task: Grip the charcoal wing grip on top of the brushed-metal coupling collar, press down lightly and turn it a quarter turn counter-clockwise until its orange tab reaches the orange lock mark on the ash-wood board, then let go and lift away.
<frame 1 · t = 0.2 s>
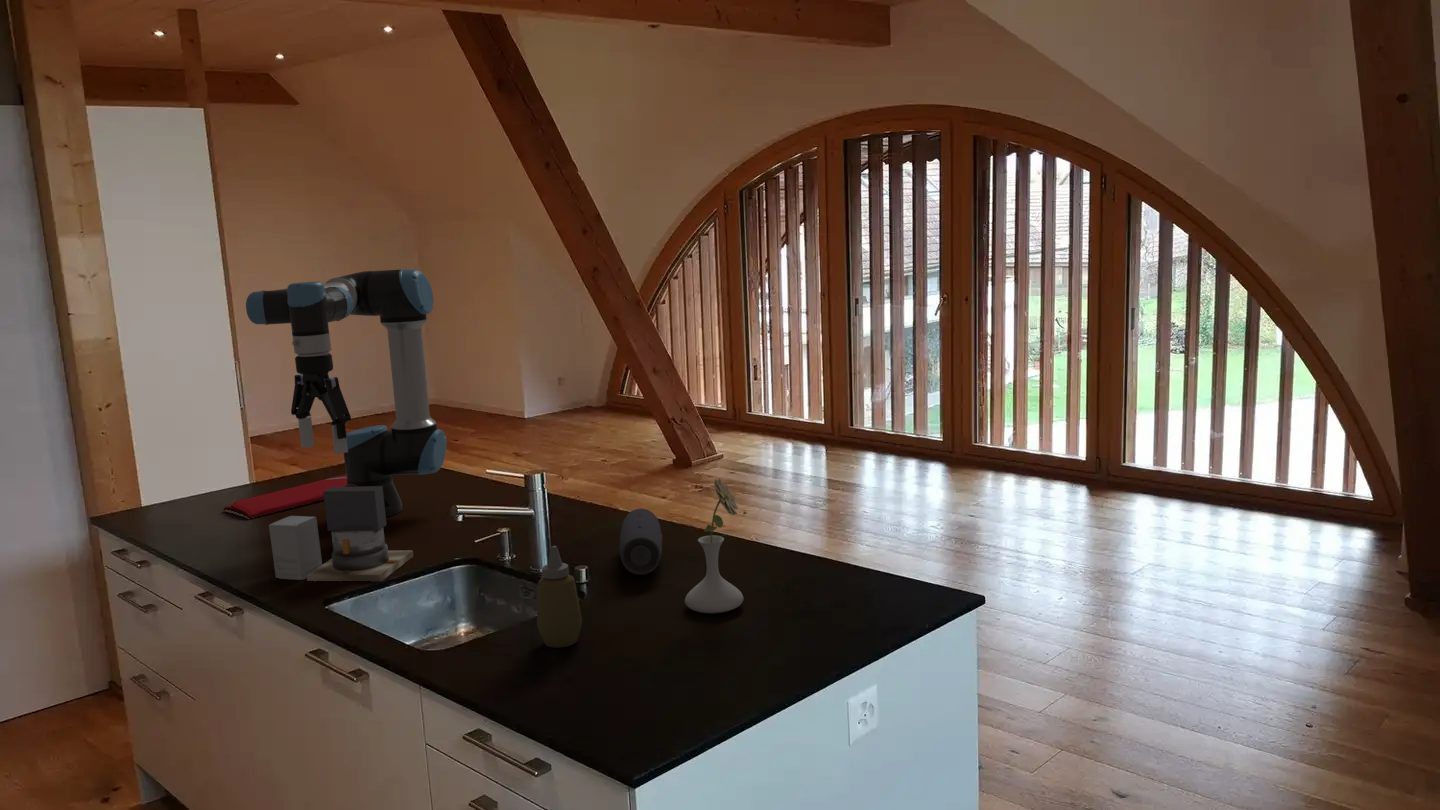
hand: (324, 450, 234), 28 cm above the worktop, tool pointing down, fingers open, 13 cm apart
pump dispenser: (357, 545, 260), on the worktop
post board: (361, 568, 241), on the worktop
dish drying mat: (306, 501, 308), on the worktop
supplement box: (299, 575, 239), on the worktop
flower in vase: (716, 607, 207), on the worktop
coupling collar: (355, 519, 238), point 12 cm above the worktop, hinge at 0.0°
bluetooth speaker: (642, 564, 235), on the worktop
squeeze bottle: (561, 643, 193), on the worktop
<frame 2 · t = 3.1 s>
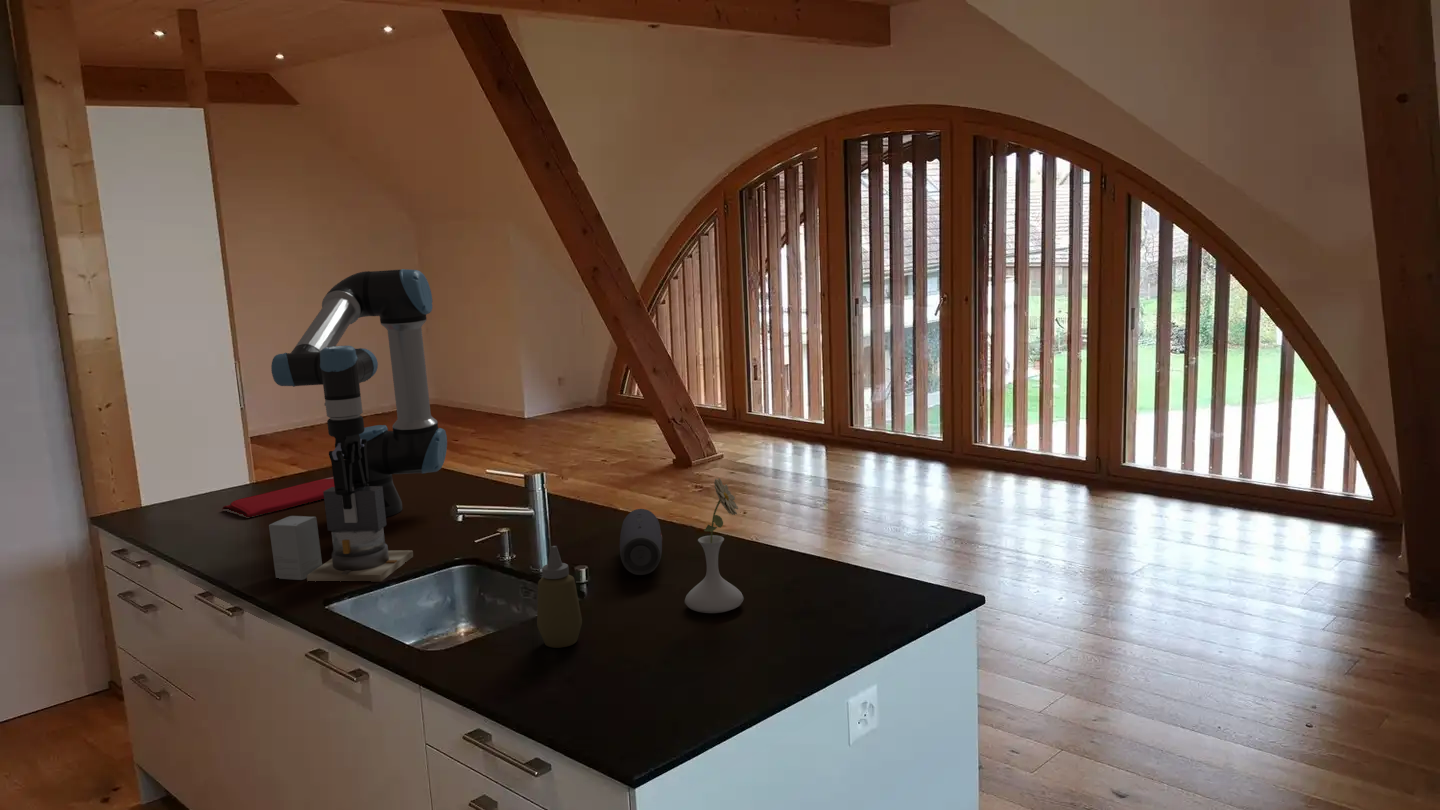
hand: (356, 519, 239), 12 cm above the worktop, tool pointing down, fingers closed on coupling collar, 4 cm apart
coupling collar: (355, 519, 238), point 12 cm above the worktop, hinge at 0.0°, touching gripper
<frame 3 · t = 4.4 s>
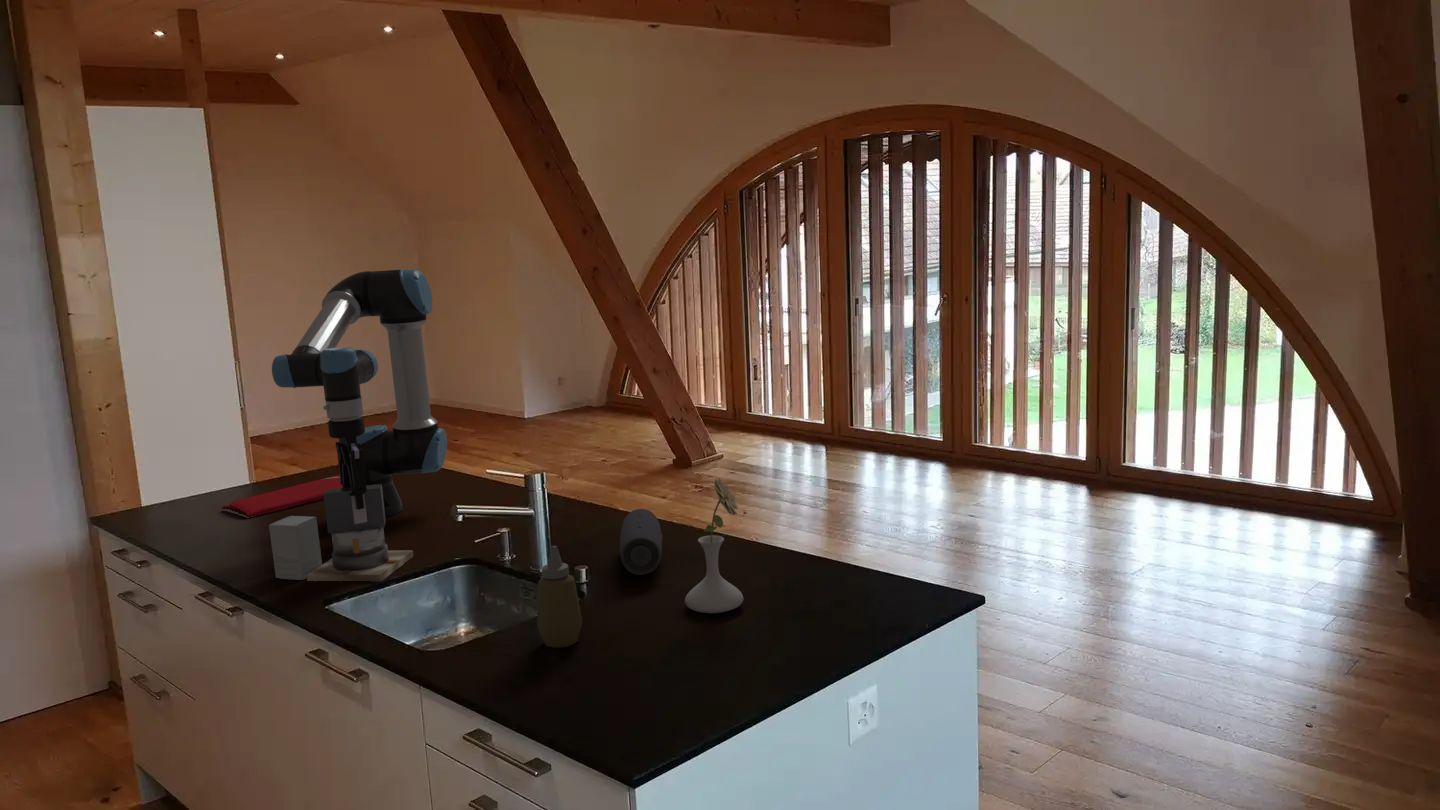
hand: (357, 519, 239), 11 cm above the worktop, tool pointing down, fingers closed on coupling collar, 5 cm apart
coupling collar: (356, 519, 238), point 12 cm above the worktop, hinge at 21.2°, touching gripper
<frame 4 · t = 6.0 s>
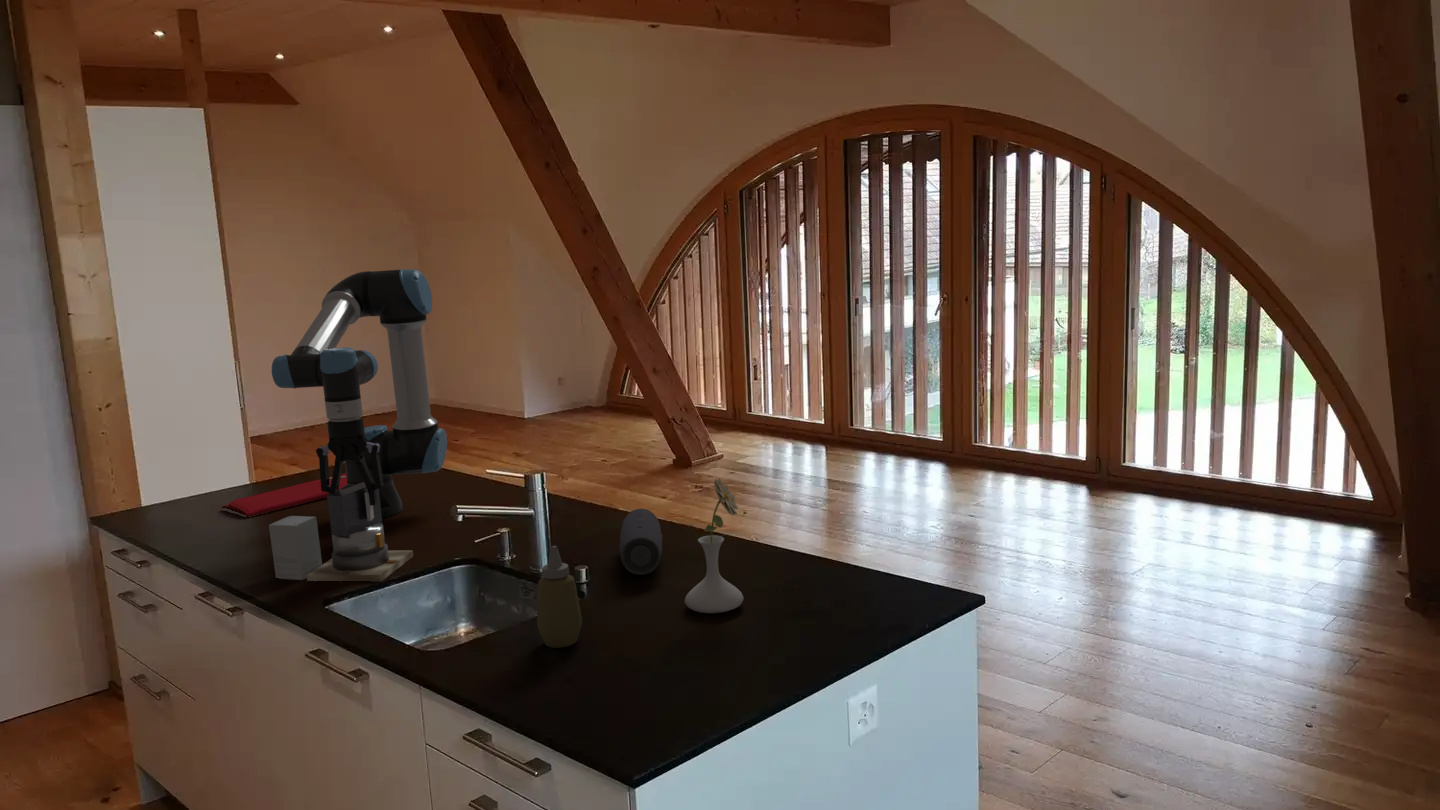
hand: (356, 520, 239), 11 cm above the worktop, tool pointing down, fingers closed on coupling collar, 6 cm apart
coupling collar: (357, 519, 239), point 12 cm above the worktop, hinge at 76.0°, touching gripper
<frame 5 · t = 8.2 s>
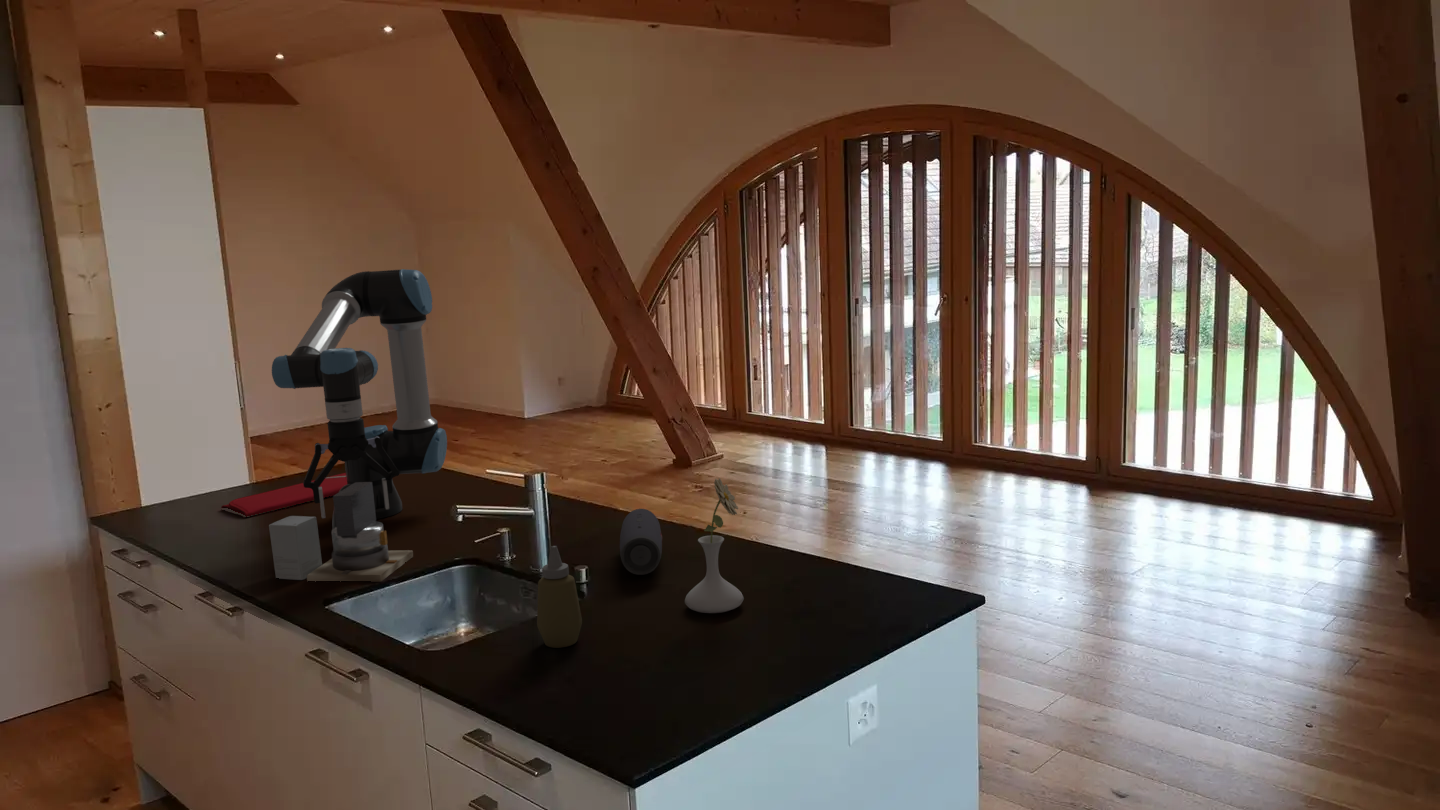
hand: (355, 512, 238), 13 cm above the worktop, tool pointing down, fingers open, 13 cm apart
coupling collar: (358, 519, 239), point 12 cm above the worktop, hinge at 93.8°
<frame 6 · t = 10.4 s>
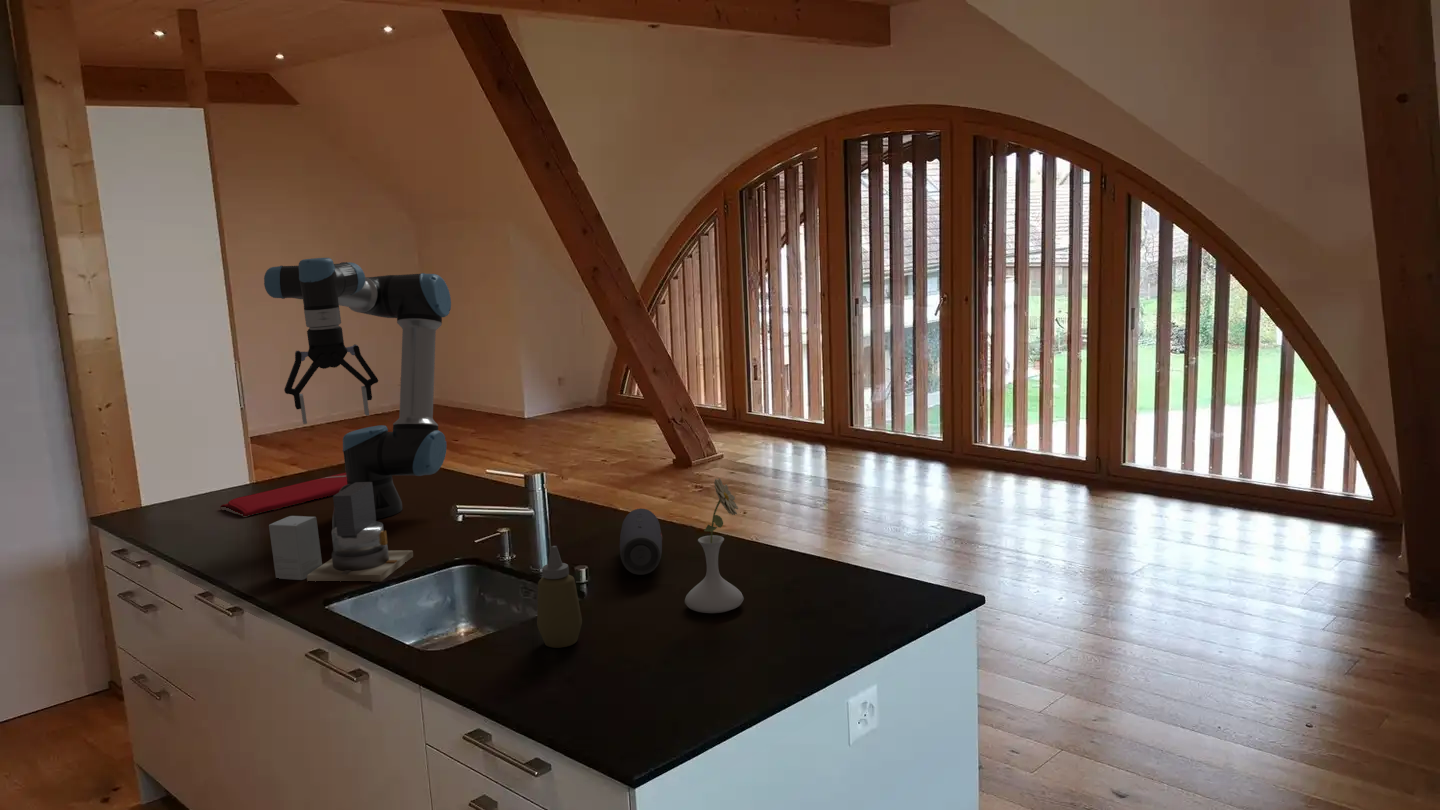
hand: (336, 418, 246), 33 cm above the worktop, tool pointing down, fingers open, 13 cm apart
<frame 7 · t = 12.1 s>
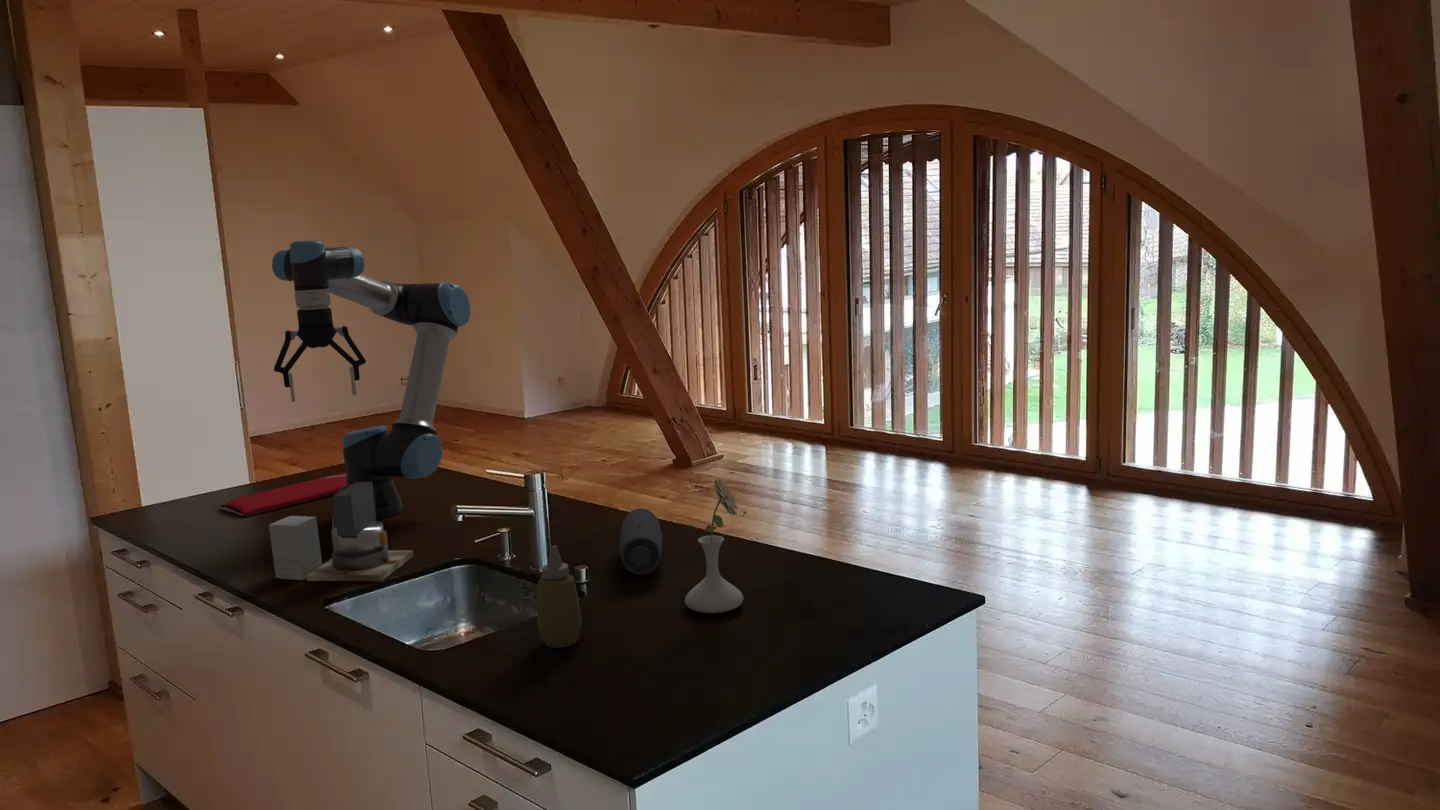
hand: (324, 397, 252), 37 cm above the worktop, tool pointing down, fingers open, 13 cm apart
at the end: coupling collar at +94° (first picture: +0°); the gripper is holding nothing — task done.
